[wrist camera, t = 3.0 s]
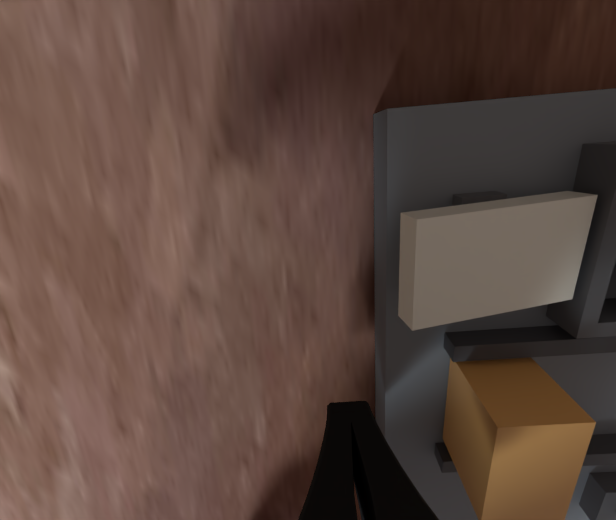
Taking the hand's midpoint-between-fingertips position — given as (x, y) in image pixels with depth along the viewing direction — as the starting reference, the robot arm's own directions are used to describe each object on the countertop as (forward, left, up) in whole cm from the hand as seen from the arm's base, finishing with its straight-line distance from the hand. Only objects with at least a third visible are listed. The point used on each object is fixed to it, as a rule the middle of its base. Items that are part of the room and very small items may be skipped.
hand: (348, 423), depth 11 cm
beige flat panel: (+4, +6, 0) cm, 7 cm away
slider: (+5, 0, -1) cm, 5 cm away
